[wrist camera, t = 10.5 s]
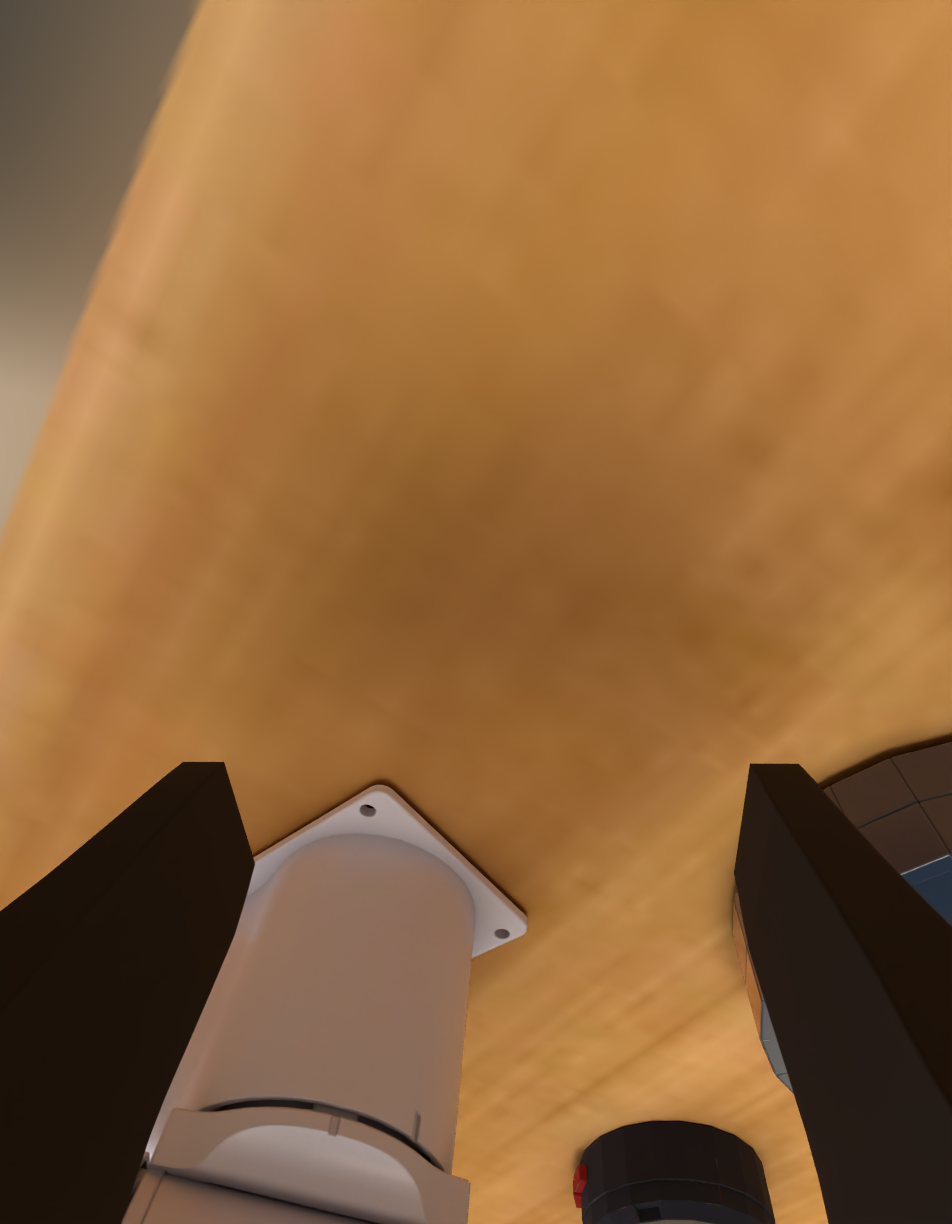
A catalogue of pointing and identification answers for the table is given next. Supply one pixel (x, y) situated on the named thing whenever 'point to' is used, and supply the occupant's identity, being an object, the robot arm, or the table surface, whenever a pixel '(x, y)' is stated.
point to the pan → (882, 847)
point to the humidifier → (671, 1177)
